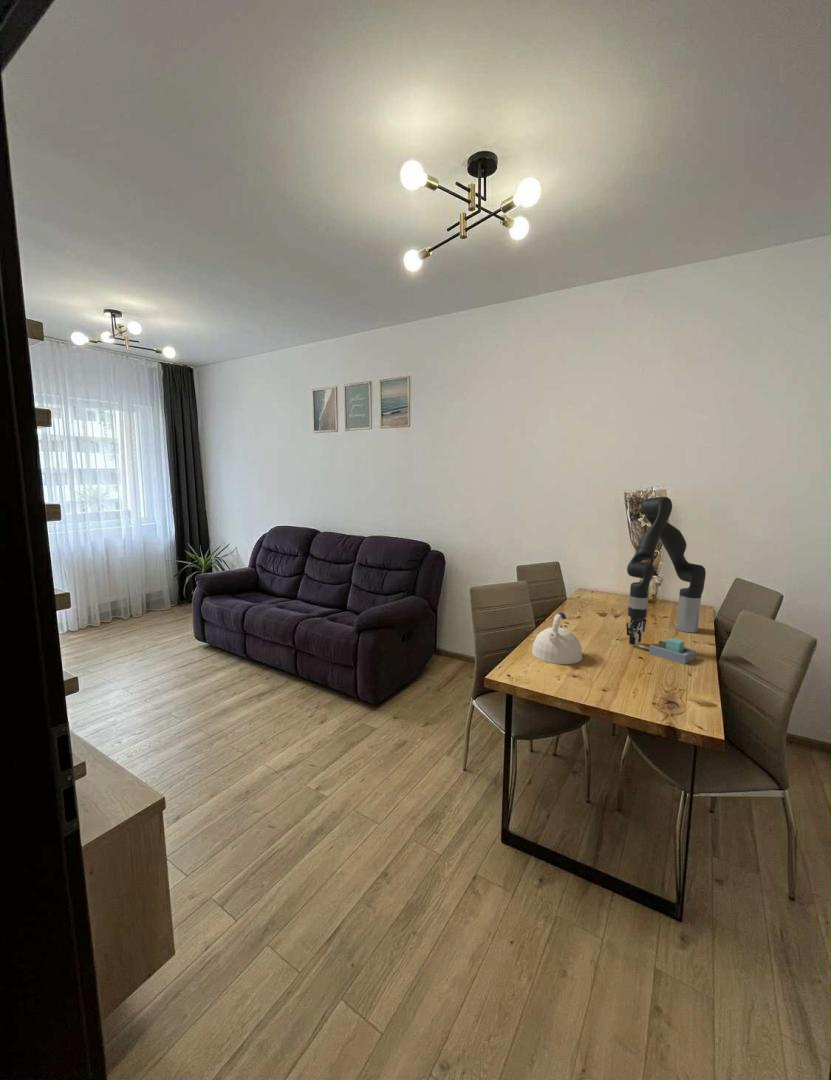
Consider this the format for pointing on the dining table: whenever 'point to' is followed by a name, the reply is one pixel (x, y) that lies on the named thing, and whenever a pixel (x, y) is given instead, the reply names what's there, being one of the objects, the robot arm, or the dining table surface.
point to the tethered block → (667, 644)
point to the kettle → (557, 644)
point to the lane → (672, 653)
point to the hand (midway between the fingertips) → (635, 642)
